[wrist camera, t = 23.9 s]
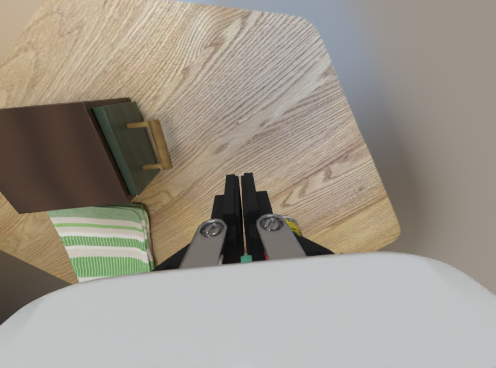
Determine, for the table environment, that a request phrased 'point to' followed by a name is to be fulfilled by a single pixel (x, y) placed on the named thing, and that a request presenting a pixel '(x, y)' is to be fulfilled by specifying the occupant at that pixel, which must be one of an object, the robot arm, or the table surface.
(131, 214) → the dish towel
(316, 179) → the table surface
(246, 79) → the table surface
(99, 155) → the cabinet
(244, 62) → the table surface
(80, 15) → the table surface
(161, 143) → the drawer
